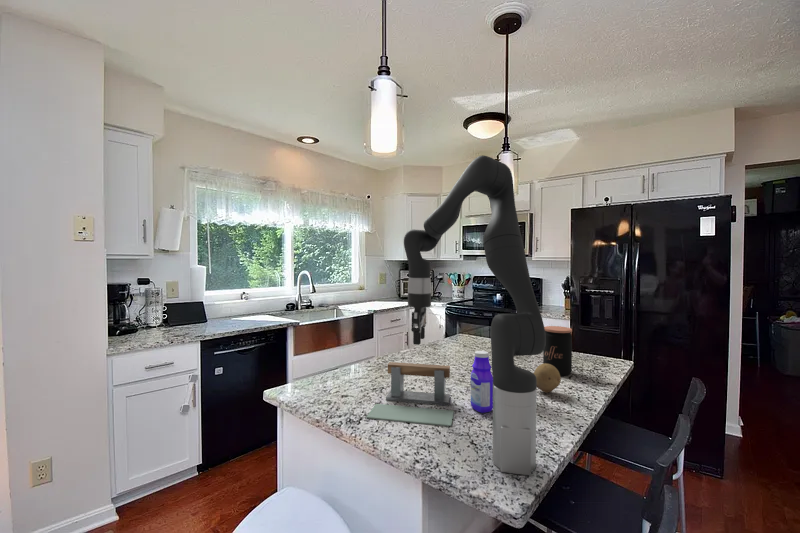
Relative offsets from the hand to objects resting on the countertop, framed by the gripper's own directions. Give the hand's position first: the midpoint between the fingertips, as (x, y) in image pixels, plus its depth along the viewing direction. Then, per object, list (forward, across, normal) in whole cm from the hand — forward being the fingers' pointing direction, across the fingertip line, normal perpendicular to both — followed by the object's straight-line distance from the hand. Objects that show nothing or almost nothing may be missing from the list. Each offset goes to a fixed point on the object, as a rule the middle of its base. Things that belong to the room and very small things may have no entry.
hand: (419, 341), depth 120 cm
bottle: (+19, -4, -20) cm, 28 cm away
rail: (+11, 0, 0) cm, 11 cm away
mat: (+19, -13, 0) cm, 23 cm away
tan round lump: (+19, +15, -42) cm, 48 cm away
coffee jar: (+19, +41, -50) cm, 67 cm away
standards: (+19, 0, 0) cm, 19 cm away
